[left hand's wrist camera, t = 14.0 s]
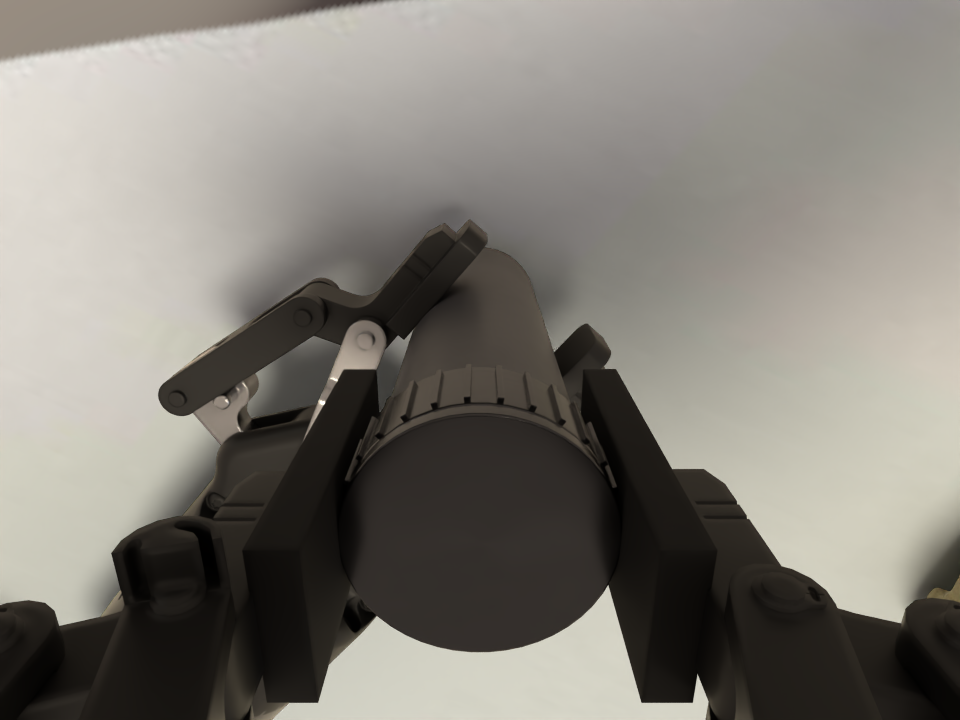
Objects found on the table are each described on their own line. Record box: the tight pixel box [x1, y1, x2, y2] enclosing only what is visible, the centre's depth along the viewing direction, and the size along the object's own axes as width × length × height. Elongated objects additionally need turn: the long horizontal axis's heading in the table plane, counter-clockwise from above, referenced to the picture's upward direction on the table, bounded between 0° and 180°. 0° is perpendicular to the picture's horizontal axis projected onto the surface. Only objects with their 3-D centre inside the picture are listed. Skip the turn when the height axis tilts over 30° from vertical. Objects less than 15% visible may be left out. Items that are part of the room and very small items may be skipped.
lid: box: [337, 364, 622, 652], centre depth 11 cm, size 5×5×2 cm
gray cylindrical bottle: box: [391, 248, 570, 402], centre depth 18 cm, size 4×4×15 cm
